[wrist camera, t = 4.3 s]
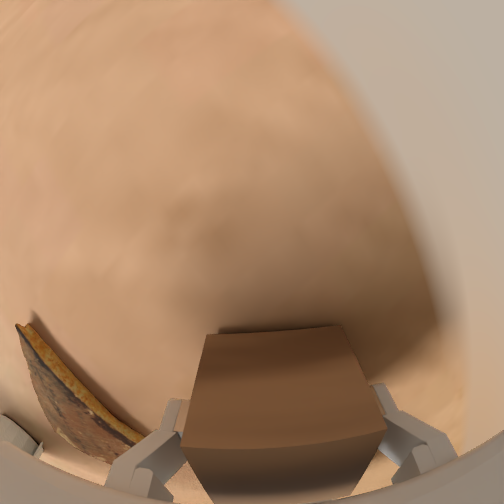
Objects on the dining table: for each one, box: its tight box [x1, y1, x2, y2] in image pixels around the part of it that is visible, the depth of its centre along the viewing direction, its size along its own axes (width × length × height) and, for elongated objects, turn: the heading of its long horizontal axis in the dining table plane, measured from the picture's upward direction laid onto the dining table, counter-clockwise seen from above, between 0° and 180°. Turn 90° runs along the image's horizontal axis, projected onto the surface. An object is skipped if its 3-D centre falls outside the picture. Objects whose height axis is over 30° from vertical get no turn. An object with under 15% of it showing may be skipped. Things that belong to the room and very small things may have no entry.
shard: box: [15, 324, 145, 465], centre depth 12 cm, size 11×8×2 cm
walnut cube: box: [180, 325, 388, 504], centre depth 8 cm, size 5×5×5 cm
